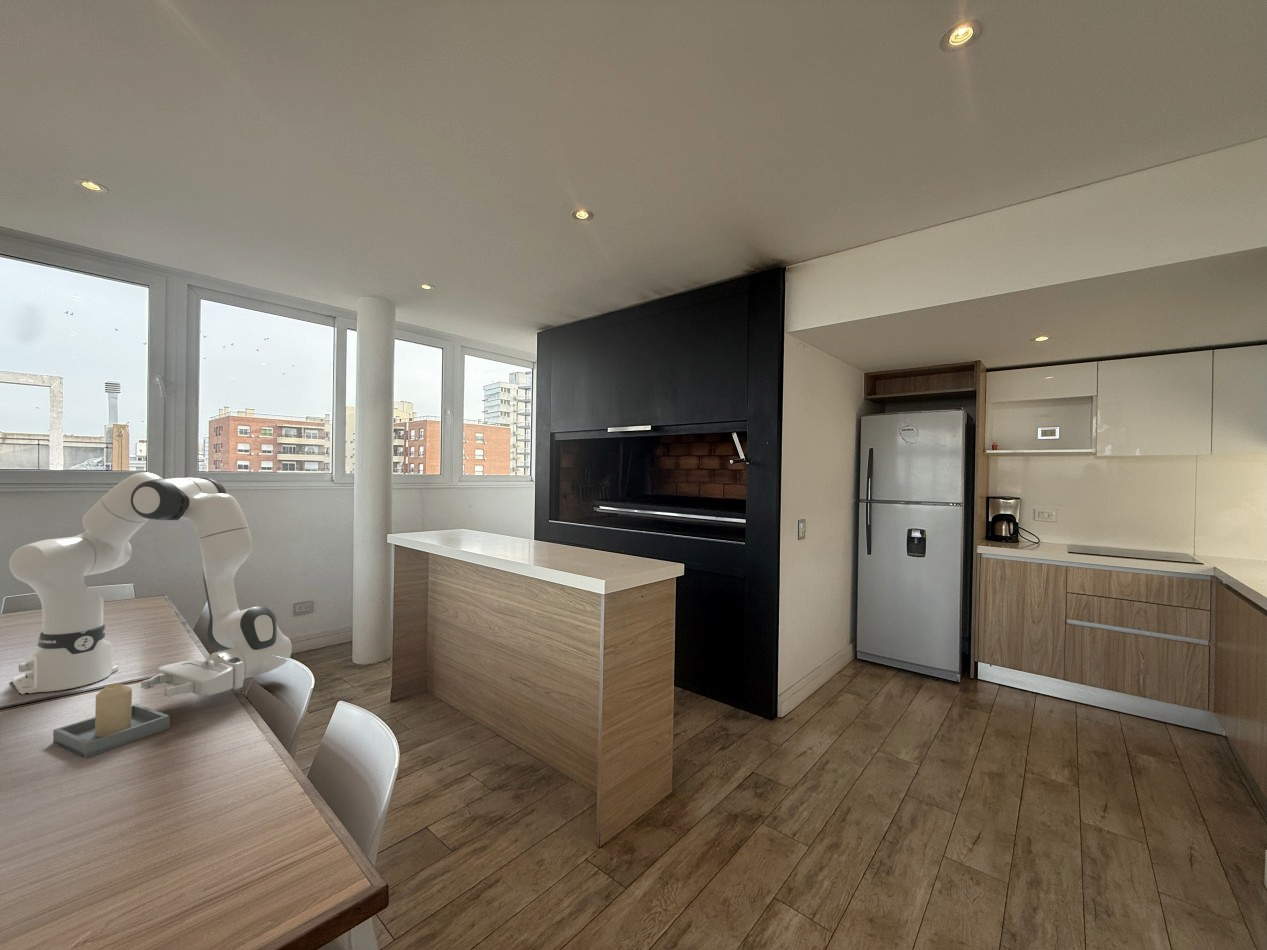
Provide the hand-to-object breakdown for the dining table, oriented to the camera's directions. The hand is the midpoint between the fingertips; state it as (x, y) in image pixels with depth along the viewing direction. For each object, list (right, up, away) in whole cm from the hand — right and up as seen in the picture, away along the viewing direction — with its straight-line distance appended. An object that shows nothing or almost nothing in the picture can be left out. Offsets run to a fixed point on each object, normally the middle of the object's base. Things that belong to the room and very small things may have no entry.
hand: (153, 689), depth 118 cm
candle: (-3, -7, -6) cm, 10 cm away
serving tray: (-3, -7, -6) cm, 10 cm away
